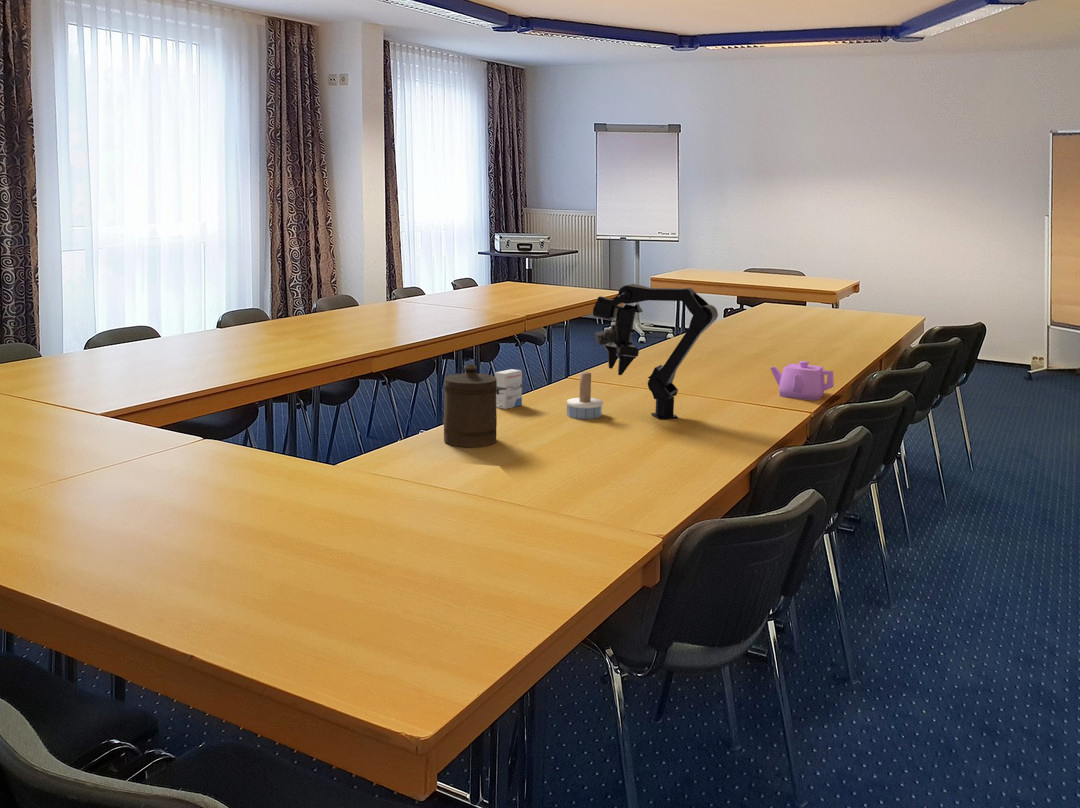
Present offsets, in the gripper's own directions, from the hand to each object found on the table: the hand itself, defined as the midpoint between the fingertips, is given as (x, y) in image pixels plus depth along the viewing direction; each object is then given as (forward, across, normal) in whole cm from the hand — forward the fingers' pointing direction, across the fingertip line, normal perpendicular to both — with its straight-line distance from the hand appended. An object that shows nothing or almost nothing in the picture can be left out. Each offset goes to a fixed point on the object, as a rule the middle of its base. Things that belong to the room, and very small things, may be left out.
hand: (615, 371), depth 305 cm
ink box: (+19, -14, -29) cm, 37 cm away
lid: (+11, +3, -9) cm, 15 cm away
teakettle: (+3, -10, +74) cm, 75 cm away
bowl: (+14, +4, -9) cm, 17 cm away
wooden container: (+20, +27, -50) cm, 60 cm away
